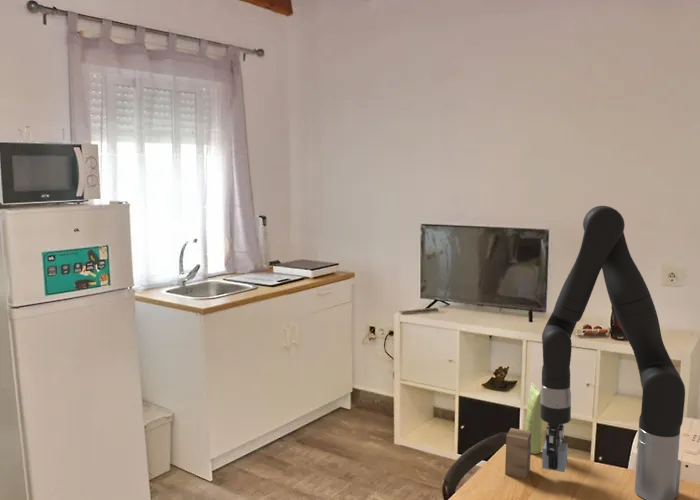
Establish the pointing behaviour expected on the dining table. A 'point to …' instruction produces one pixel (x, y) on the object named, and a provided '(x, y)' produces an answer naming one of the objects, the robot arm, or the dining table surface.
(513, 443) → the tower upper
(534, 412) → the tube
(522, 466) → the tower lower
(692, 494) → the dining table surface
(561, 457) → the slate block
